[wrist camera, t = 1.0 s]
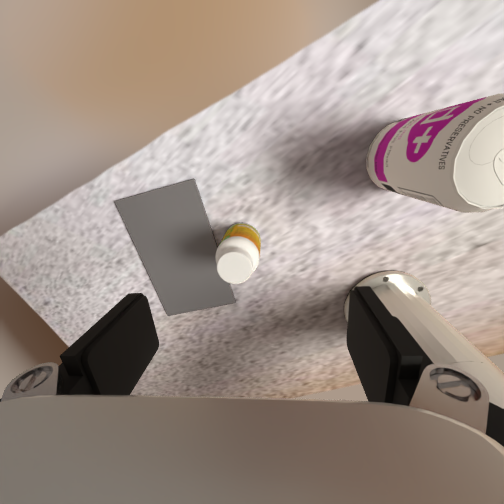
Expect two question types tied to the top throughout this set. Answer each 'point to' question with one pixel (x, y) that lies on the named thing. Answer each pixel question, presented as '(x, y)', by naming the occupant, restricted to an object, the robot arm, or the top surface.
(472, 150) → the supplement can
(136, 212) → the mat
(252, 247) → the supplement bottle
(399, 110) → the top surface
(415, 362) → the robot arm
